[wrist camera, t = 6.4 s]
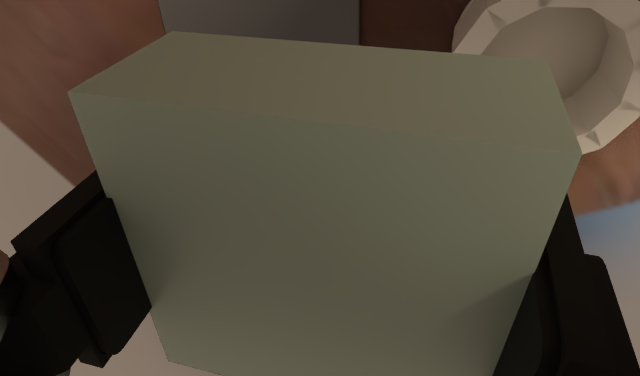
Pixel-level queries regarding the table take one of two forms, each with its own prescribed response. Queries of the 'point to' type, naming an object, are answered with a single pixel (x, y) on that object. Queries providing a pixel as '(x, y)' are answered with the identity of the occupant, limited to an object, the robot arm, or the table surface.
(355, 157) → the block
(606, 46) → the bowl
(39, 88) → the table surface
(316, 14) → the mat
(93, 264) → the robot arm
